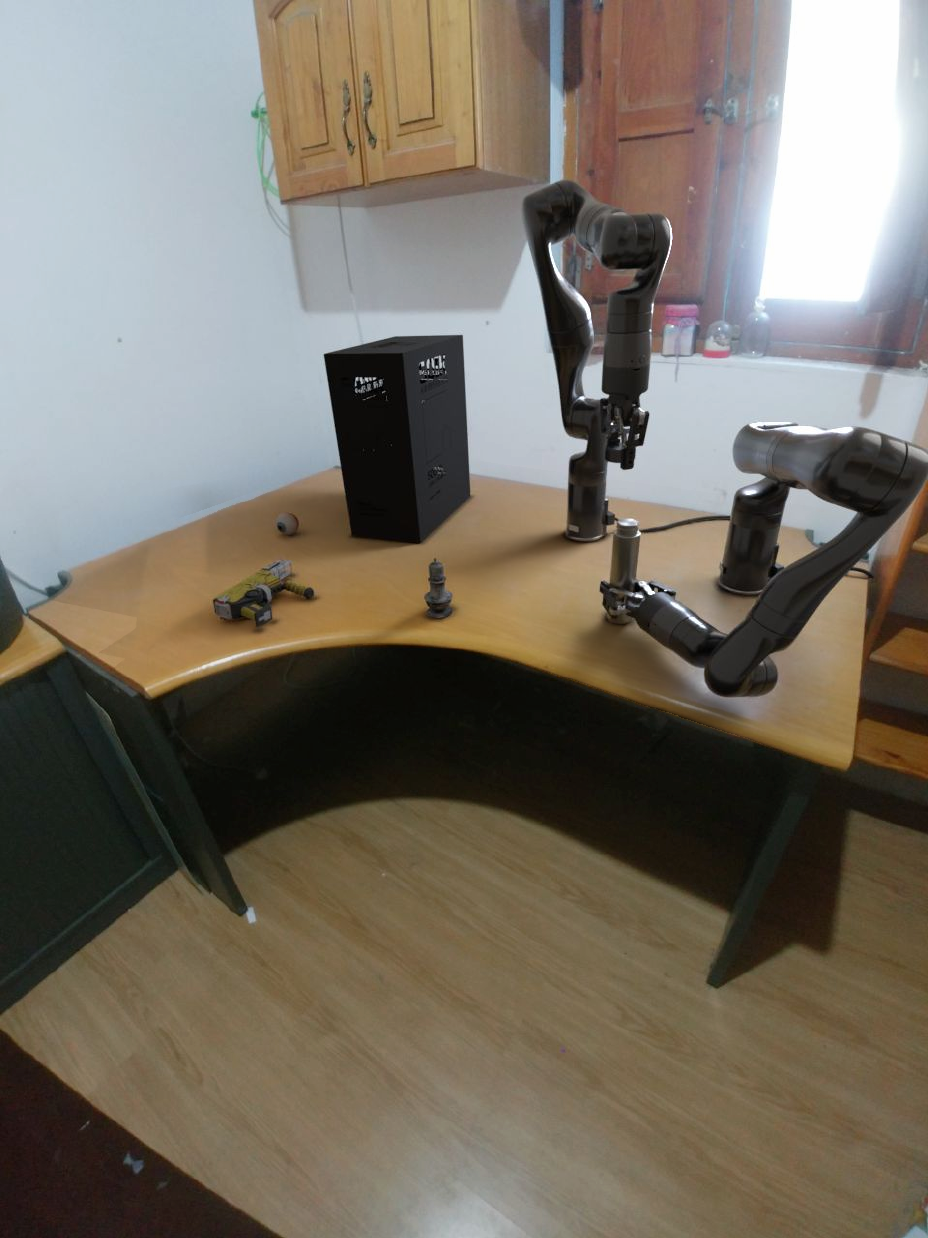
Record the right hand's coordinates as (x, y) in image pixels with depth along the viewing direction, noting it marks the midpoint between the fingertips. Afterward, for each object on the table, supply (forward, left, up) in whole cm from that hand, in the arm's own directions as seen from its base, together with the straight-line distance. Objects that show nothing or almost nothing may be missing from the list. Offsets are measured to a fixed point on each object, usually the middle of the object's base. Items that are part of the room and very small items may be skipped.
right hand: (614, 582), depth 116 cm
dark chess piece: (+31, -15, -7) cm, 35 cm away
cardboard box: (+18, -72, -7) cm, 75 cm away
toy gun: (+61, -36, -7) cm, 71 cm away
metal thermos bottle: (0, +3, -7) cm, 7 cm away
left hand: (0, -2, +23) cm, 23 cm away
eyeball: (+54, -75, -7) cm, 92 cm away
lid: (0, -2, +25) cm, 26 cm away
